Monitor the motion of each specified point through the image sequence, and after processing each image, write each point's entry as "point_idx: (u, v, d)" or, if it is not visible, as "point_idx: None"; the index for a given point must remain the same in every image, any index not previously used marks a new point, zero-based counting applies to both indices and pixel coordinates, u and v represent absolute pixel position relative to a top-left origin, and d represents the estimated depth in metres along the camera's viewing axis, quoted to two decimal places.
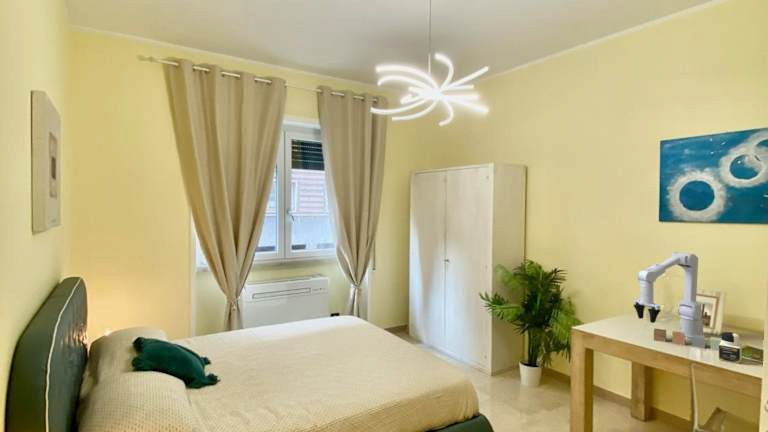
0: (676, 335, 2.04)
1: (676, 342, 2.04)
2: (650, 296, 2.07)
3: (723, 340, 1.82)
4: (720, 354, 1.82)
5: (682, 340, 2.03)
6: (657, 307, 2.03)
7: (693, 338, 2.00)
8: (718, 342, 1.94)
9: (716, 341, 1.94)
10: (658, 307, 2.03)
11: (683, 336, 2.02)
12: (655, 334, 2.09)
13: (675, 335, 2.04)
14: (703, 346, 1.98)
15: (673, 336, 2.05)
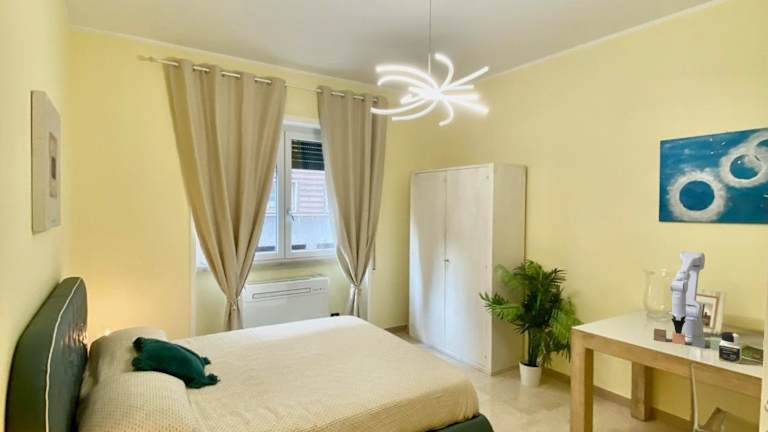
0: (676, 335, 2.04)
1: (676, 342, 2.04)
2: (677, 306, 2.03)
3: (723, 340, 1.82)
4: (720, 354, 1.82)
5: (682, 340, 2.03)
6: (676, 317, 2.00)
7: (693, 338, 2.00)
8: (718, 342, 1.94)
9: (716, 341, 1.94)
10: (678, 317, 2.00)
11: (683, 336, 2.02)
12: (655, 334, 2.09)
13: (675, 335, 2.04)
14: (703, 346, 1.98)
15: (673, 336, 2.05)
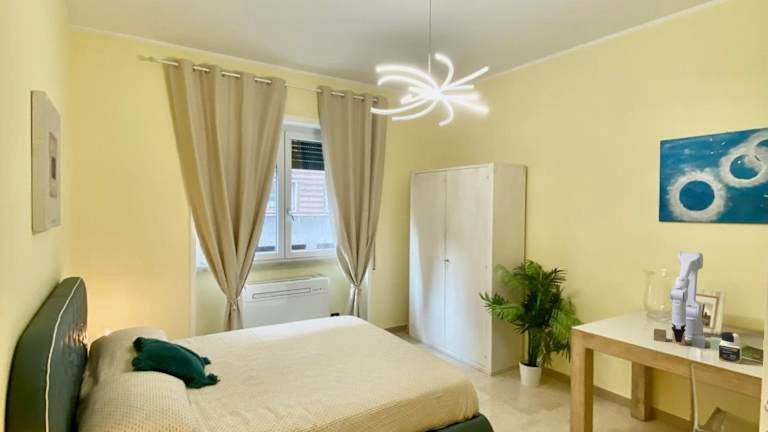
0: None
1: (676, 342, 2.04)
2: (677, 315, 2.03)
3: (723, 340, 1.82)
4: (720, 354, 1.82)
5: (682, 340, 2.03)
6: (676, 326, 2.00)
7: (693, 338, 2.00)
8: (718, 342, 1.94)
9: (716, 341, 1.94)
10: (678, 326, 2.00)
11: (683, 336, 2.02)
12: (655, 334, 2.09)
13: None
14: (703, 346, 1.98)
15: (673, 336, 2.05)
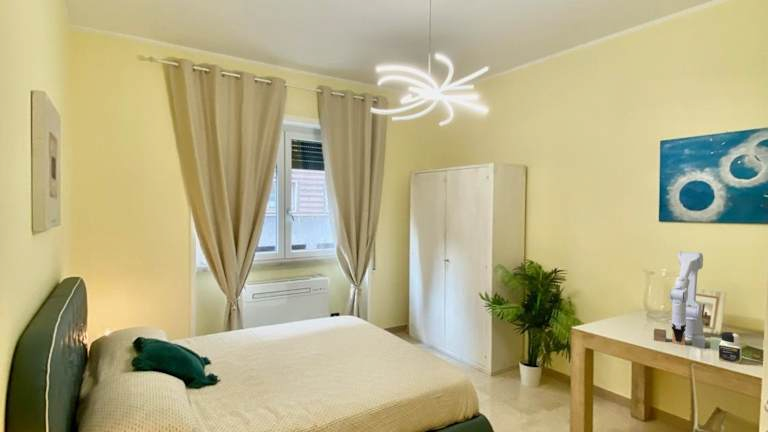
0: None
1: (676, 342, 2.04)
2: (677, 315, 2.03)
3: (723, 340, 1.82)
4: (720, 354, 1.82)
5: (682, 340, 2.03)
6: (676, 326, 2.00)
7: (693, 338, 2.00)
8: (718, 342, 1.94)
9: (716, 341, 1.94)
10: (678, 326, 2.00)
11: (683, 336, 2.02)
12: (655, 334, 2.09)
13: None
14: (703, 346, 1.98)
15: (673, 336, 2.05)
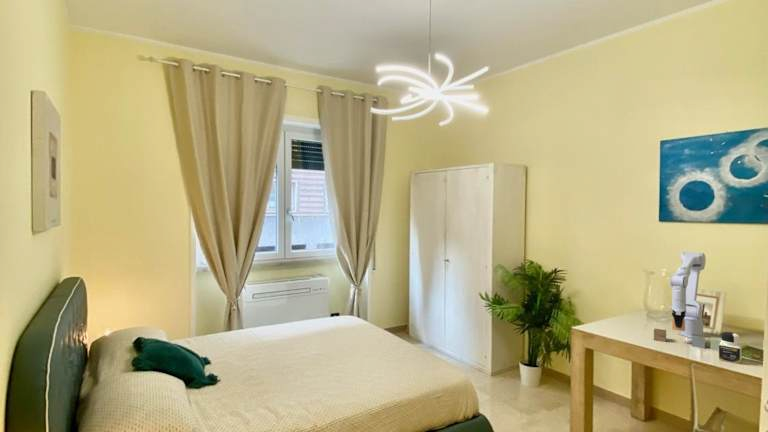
0: None
1: (676, 328, 2.04)
2: (677, 301, 2.03)
3: (723, 340, 1.82)
4: (720, 354, 1.82)
5: (682, 326, 2.03)
6: (676, 312, 2.00)
7: (693, 338, 2.00)
8: (718, 342, 1.94)
9: (716, 341, 1.94)
10: (678, 312, 2.00)
11: (683, 322, 2.02)
12: (655, 334, 2.09)
13: None
14: (703, 346, 1.98)
15: (673, 322, 2.05)
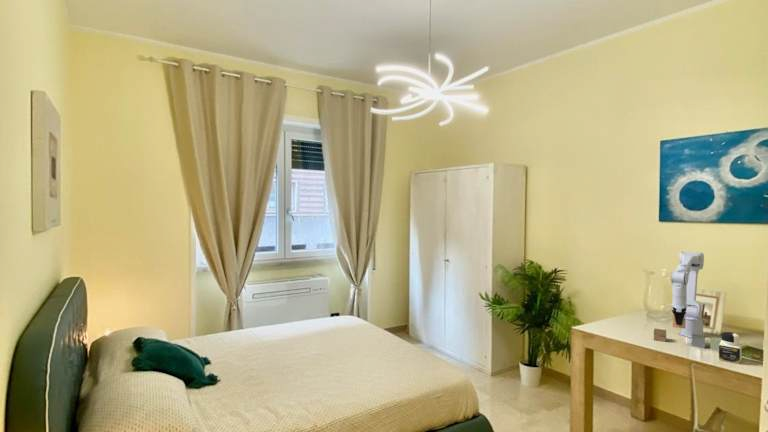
0: None
1: (676, 326, 2.02)
2: (678, 298, 2.01)
3: (723, 340, 1.82)
4: (720, 354, 1.82)
5: (683, 323, 2.00)
6: (677, 309, 1.97)
7: (693, 338, 2.00)
8: (718, 342, 1.94)
9: (716, 341, 1.94)
10: (678, 309, 1.97)
11: (684, 320, 2.00)
12: (655, 334, 2.09)
13: None
14: (703, 346, 1.98)
15: (673, 320, 2.02)
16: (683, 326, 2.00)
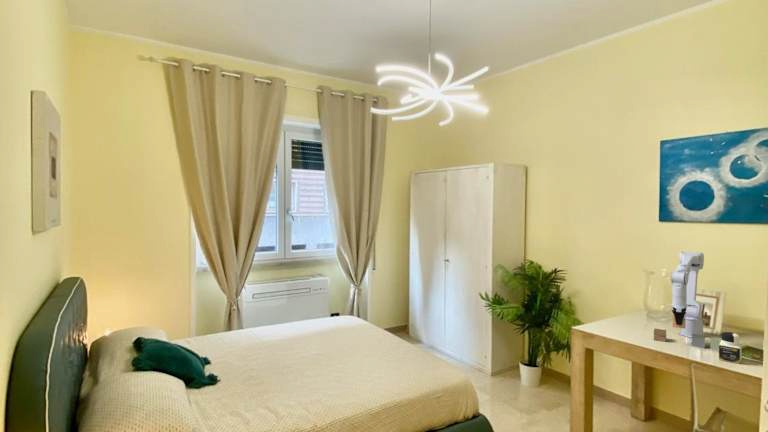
0: None
1: (676, 326, 2.02)
2: (678, 298, 2.01)
3: (723, 340, 1.82)
4: (720, 354, 1.82)
5: (683, 323, 2.00)
6: (677, 309, 1.97)
7: (693, 338, 2.00)
8: (718, 342, 1.94)
9: (716, 341, 1.94)
10: (678, 309, 1.97)
11: (684, 320, 2.00)
12: (655, 334, 2.09)
13: None
14: (703, 346, 1.98)
15: (673, 320, 2.02)
16: (683, 326, 2.00)
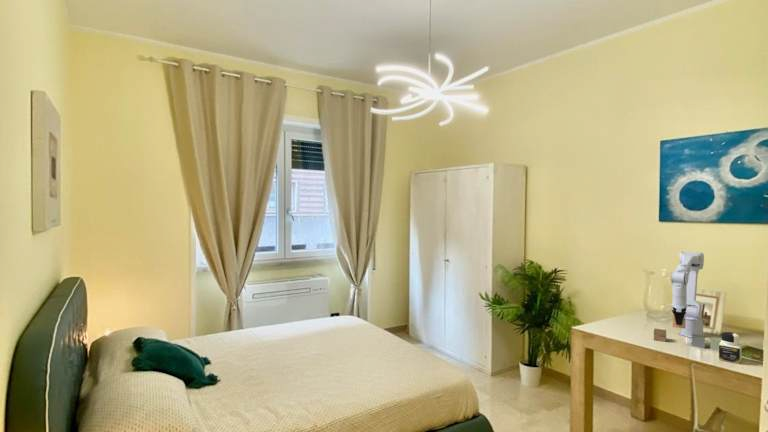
0: None
1: (676, 326, 2.02)
2: (678, 298, 2.01)
3: (723, 340, 1.82)
4: (720, 354, 1.82)
5: (683, 323, 2.00)
6: (677, 309, 1.97)
7: (693, 338, 2.00)
8: (718, 342, 1.94)
9: (716, 341, 1.94)
10: (678, 309, 1.97)
11: (684, 320, 2.00)
12: (655, 334, 2.09)
13: None
14: (703, 346, 1.98)
15: (673, 320, 2.02)
16: (683, 326, 2.00)
